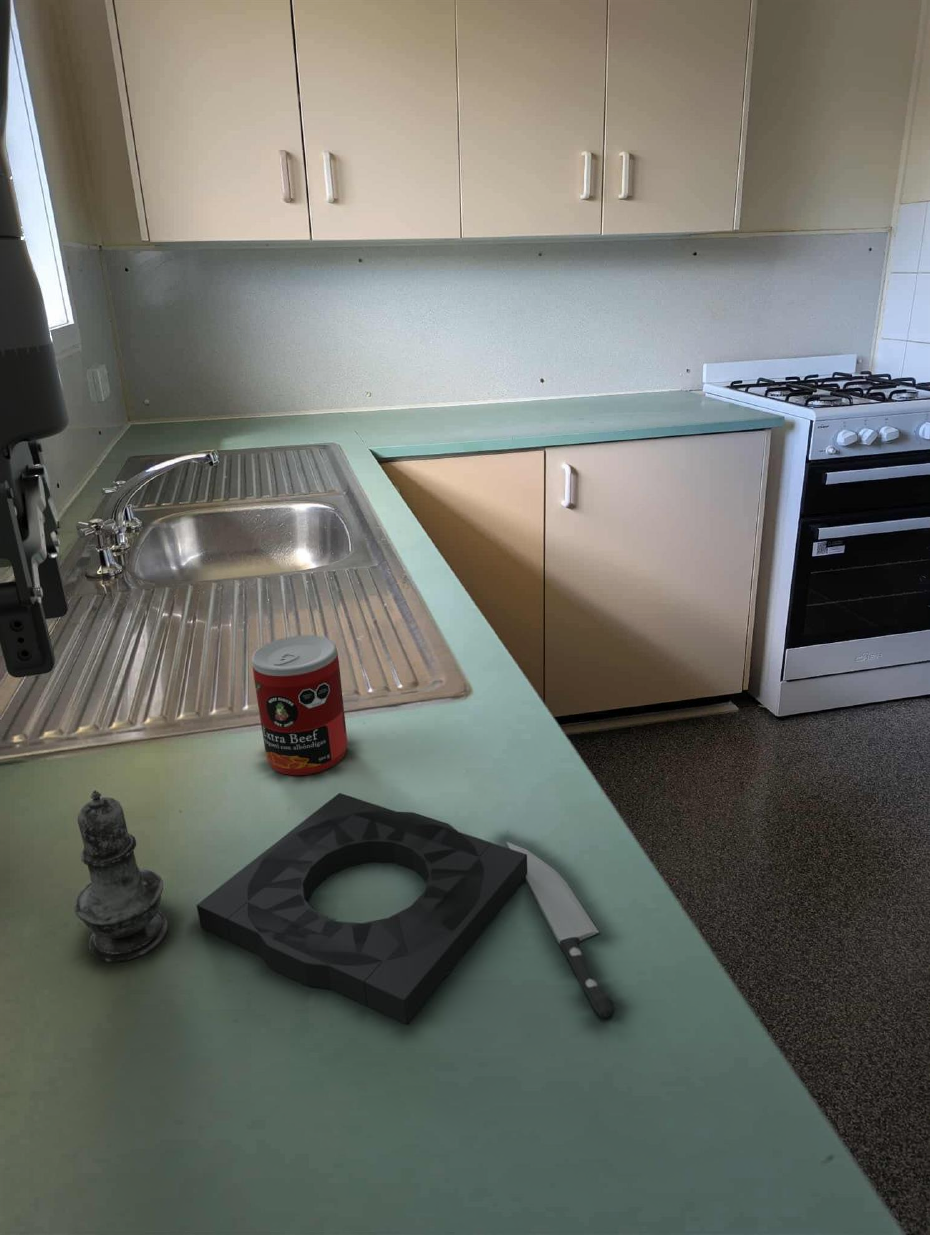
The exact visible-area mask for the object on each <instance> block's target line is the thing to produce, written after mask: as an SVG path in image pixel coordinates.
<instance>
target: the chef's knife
mask: <svg viewBox="0 0 930 1235" xmlns="http://www.w3.org/2000/svg"><path fill="white" fill-rule="evenodd" d="M506 845H507V846H508V848H509V849H512V850H515V851H518V852H521V853H524V854H527V875H526V876H525V880H524V881H525V882H526V884H527V886H528V889H529V890H530V892H531V893H532V896H533V897H534V900H535V901H536V903H537V905H538V907H539V909H540V911H541V913H542V914H543V917H544V919H545V920H546V923H547V925H548V926H549V928H550V930H551V931H552V934H553V936H554V938H555V939H556V941H557V943H558V944H559V946H560V948H561V950H562V951H563V953H564V955H565V956H566V958H567V960H568V962H569V963H570V966H571V967H572V969H573V971H574V973H575V975H576V977H577V978H578V980H579V983H580V984H581V986H582V988H583V990H584V992H585V994H586V996H587V998H588V1000H589V1001H590V1004H591V1005H592V1007H593V1009H594V1011H595V1012H596V1013H597V1014H598V1015H599V1017H600V1018H601V1019H606V1018H609V1017H610V1016H611V1015H612V1014H613V1009H614V1008H613V1007H614V1004H615V1002H614V1001H613V1000H612V999H611V998H610V997H609V996H608V995H607V994H606V993H605V992H604V990H603V989H602V988H601V987H600V986H599V984H597V982H596V980H595V978H594V976H593V974H592V973H591V971H590V969H589V967H588V963H587V962H586V959H585V957H584V955H583V953H582V951H581V949H580V947H579V945H578V944H579V943H580V942H582V941H584V940H586V939H589V938H591V937H593V936H596V935H598V934H599V933H600V931H599V930H598V929H597V927H596V926H595V924H594V922H593V921H592V920H591V918H590V916H589V915H588V914H587V912H586V910H585V909H584V907H583V906H582V904H581V903H580V901H579V900H578V898H577V896H576V895H575V893H574V892H573V890H572V888H570V886H569V884H568V883H567V882H566V880H565V879H564V878H563V877H562V876H561V875H560V874H559V873H558V871H557V870H555V869H554V868H553V867H552V866H550V865H549V864H548V863H546V862H545V861H543V860H542V859H540V858H539V857H538V856H536V855H535V854H533V853H532V852H530V851H529V850H527V849H525V848H523V847H521V846H518V845H515V844H513V843H511V842H508V841H506Z"/></svg>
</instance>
